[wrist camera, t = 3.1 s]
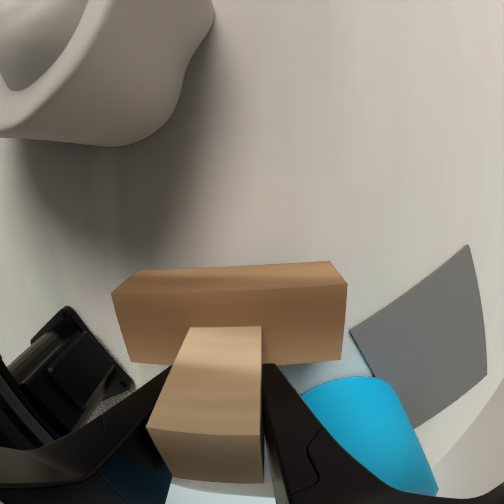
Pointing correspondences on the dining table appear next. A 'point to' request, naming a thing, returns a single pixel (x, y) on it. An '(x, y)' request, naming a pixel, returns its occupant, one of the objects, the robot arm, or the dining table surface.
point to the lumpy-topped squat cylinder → (95, 66)
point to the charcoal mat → (429, 340)
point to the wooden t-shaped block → (225, 353)
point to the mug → (373, 430)
